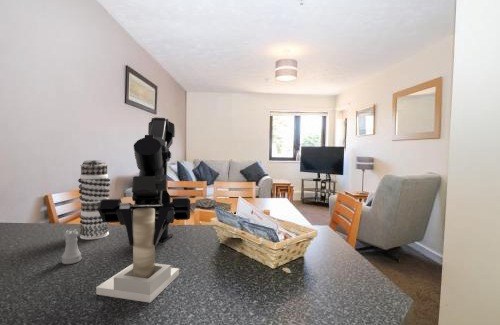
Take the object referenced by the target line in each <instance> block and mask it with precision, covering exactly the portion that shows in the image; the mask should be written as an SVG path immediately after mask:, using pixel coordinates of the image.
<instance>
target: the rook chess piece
mask: <svg viewBox="0 0 500 325" xmlns="http://www.w3.org/2000/svg"><path fill="white" fill-rule="evenodd" d="M64 232H65V233H64V234H63V236H64V238H65V241H64V242H65V249H64V252H63V254H62V255H61V261H60V262H61V263H62V264H63V265H73V264H76V263H78V262H80V261H81V260H82V258H83V257H82V252H80V249H79V247H78V240H79V239H78V235H79V234H80V232H78V229H76V228H73V230H72V229H69V230H68V229H67V230H65V231H64Z"/></svg>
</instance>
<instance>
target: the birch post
mask: <svg viewBox="0 0 500 325" xmlns="http://www.w3.org/2000/svg"><path fill="white" fill-rule="evenodd" d="M154 235H155V209H154V208H137V209H134V210H133V246H132V264H133V277H139V278H147V279H148V278H150V277H151V276H152V275H153V274H155V263H156V261H155V259H156V257H155V256H156V255H155V254H156V253H155V252H156V251H155V250H156V249H155V248H156V246H154Z"/></svg>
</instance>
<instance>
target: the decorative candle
mask: <svg viewBox="0 0 500 325" xmlns="http://www.w3.org/2000/svg"><path fill="white" fill-rule="evenodd" d="M77 181H78V183H80V184H79V185H78V188H79V190H78V193H79V194H80V196H78V198H79V202H80V203H81V207H80V208H81V210H80V215H79V219H80V221H79V223H80V226H79V229H80V231H79V234H80V236H79V238H80V239H81V240H97V239H103V238H105V237H108V236H109V234H110V233H109V231H110V227H109V226H110V222H109V223H106V222H103V220H102V218H101V216H100V213H99V211H98V206H99V202H100V201H101V200H103V199H110V198H109V197H110V194H109V192H110V191H111V190H110V188H109V187H110V186H111V183H109V182H110V181H111V179H110V178H109V173H108V164H107V163H106V162H105V160H99V159H96V160H95V159H93V160H92V159H89V160H88V159H87V160H84V161H83V162H82V164H80V178H79V179H78V180H77ZM108 188H109V189H108Z"/></svg>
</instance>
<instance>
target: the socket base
mask: <svg viewBox="0 0 500 325" xmlns="http://www.w3.org/2000/svg"><path fill="white" fill-rule="evenodd" d="M179 275H180V268H179V267H178V268H177V267H172V264H164V263H157V262H155V274H153V275H152V276H151V277H150V278H148V279H147V278H139V277H133V263H131V264H130V265H128V266H127V267H126V268H123V269H122V270H121V271H119V272H118V273H115V274H114V275H113V276H112V277H109V278H108V279H107V280H105V281H103V282H102V283H100V284H99V285H98V286H96V287H95V288H96V290H95V291H96V292H95V294H96V295H99V296H103V297H111V298H117V299H124V300H130V301H137V302H143V303H152V302H153V301H154V300H155V299H156V298H157V297H158V296H159V295H160V294H161V293H162V292H164V290H165V289H166V288H167V287H168V286H170V284H171V283H172V282H173V281H174V280H175V279H177V277H179Z"/></svg>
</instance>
